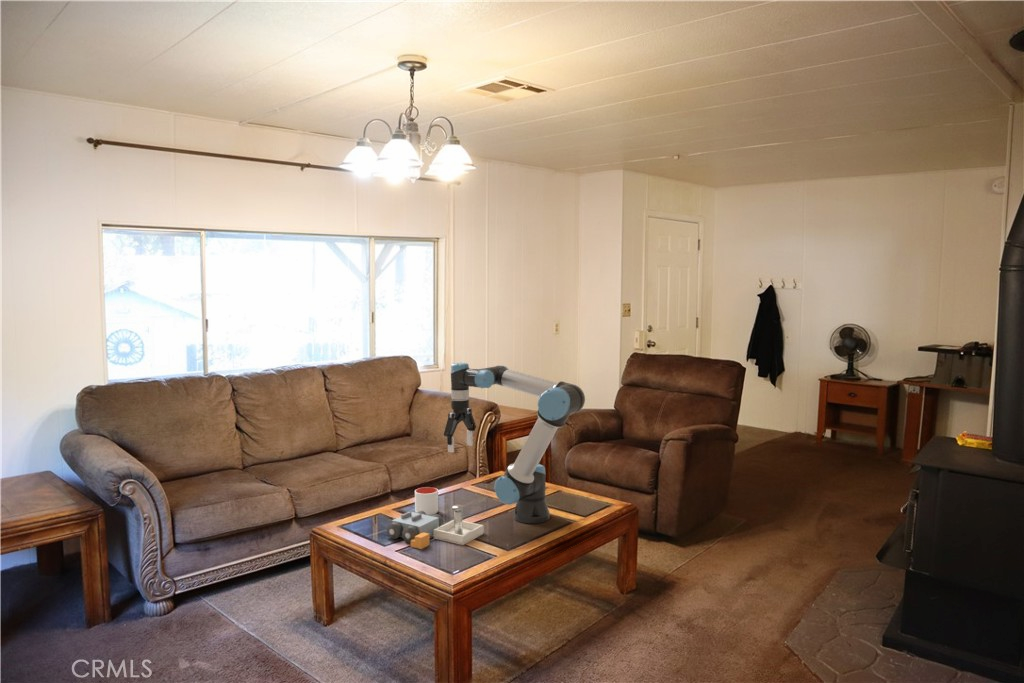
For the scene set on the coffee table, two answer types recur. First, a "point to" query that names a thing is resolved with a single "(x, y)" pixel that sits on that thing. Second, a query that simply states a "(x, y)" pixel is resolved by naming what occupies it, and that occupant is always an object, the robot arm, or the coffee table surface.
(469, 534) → the tray
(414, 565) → the coffee table surface
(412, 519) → the trolley
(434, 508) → the cup
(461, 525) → the pin
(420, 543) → the block
